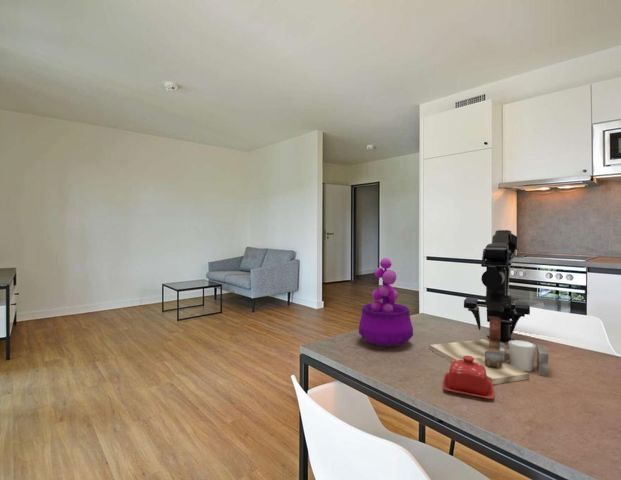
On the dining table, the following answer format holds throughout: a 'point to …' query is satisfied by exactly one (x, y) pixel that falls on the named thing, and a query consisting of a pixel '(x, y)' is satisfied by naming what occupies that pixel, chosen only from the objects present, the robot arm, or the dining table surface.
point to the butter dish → (468, 379)
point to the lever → (494, 344)
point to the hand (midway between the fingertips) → (495, 331)
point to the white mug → (522, 354)
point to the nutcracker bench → (478, 353)
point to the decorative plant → (385, 313)
